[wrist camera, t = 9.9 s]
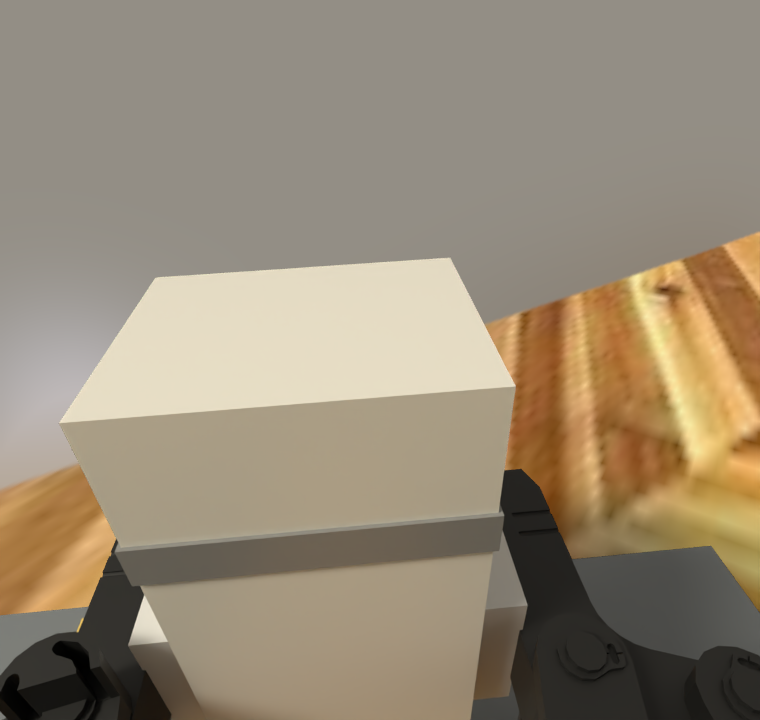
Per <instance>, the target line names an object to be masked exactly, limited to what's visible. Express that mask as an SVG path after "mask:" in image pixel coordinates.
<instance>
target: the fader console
mask: <svg viewBox="0 0 760 720" xmlns="http://www.w3.org/2000/svg"><path fill="white" fill-rule="evenodd" d="M572 561H573V563H574V565H575V568H576V570H577V572H578V574H579V576H580V579H581V581H582V583H583V585H584V588H585V590H586V592H587V594H588V597H589V599H590V601H591V603H592V605H593V607H594V608H595V610H596V612H597V613H598V615H599V616H600V617H601V618H602V619H603V621H604V622H605V623H606V624H607V625H608V626H609V627H610V628H611V629H613V630H614V631H615V632H616V633H618V634H619V635H620V636H622V637H623V638H625V639H627V640H629V641H631V642H633V643H634V644H637V645H640V646H643V647H646V648H649V649H653V650H657V651H661V652H666V653H670V654H674V655H679V656H683V657H687V658H692V659H696V660H699V658H700V657H701V655H702V654H703V652H704V651H707V650H709V649H711V648H714V647H716V646H731V647H739V648H741V649H744V650H746V651H749V652H752V653H754V654H757V655H759V656H760V613H759V611H758V610H757V609H756V607H755V606H754V605H753V603H752V602H751V600H750V599H749V598H748V596H747V595H746V594H745V592H744V591H743V589H742V588H741V587H740V585H739V584H738V583H737V581H736V580H735V578H734V577H733V576H732V574H731V573H730V571H729V570H728V569H727V567H726V566H725V565H724V563H723V562H722V560H721V559H720V558H719V556H718V555H717V554H716V552H715V551H714V549H713V548H712V547H711V546H704V547H694V548H684V549H673V550H663V551H653V552H643V553H633V554H622V555H612V556H602V557H592V558H582V559H572ZM87 610H88V607H82V608H72V609H62V610H52V611H41V612H31V613H21V614H11V615H1V616H0V675H1V674H2V673H3V671H4V670H5V669H6V668H7V667H8V666H9V664H10V663H11V662H12V661H13V660H14V659H15V658H16V657H17V656H18V655H20V654H21V653H22V652H24V651H25V650H26V649H28V648H29V647H30V646H32V645H33V644H34V643H36V642H38V641H40V640H43V639H45V638H47V637H50V636H52V635H54V634H57V633H66V632H79V629H80V627H81V624H82V622H83V619H84V617H85V614H86V612H87ZM518 715H519V708H518V704H517V701H516V697H515V693H514V690H513V686H512V682H511V687H510V692H509V696H506V697H497V698H488V699H478V700H473V704H472V712H471V719H470V720H517V719H518ZM5 718H6V717H5V716H4V715H3V714H2V713H1V712H0V720H3V719H5ZM170 720H172V719H170Z"/></svg>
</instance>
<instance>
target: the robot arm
mask: <svg viewBox="0 0 760 720" xmlns="http://www.w3.org/2000/svg"><path fill="white" fill-rule="evenodd" d="M500 505H501V508H502V511H503V514H504V522H503V529H502V535H501V542H500V549H499V551H494V552H493V557H492V564H491V572H490V579H489V586H488V594H487V601H486V608H485V616H484V623H483V631H482V638H481V645H480V653H479V660H478V667H477V675H476V682H475V690H474V697H473V700H478V699H488V698H497V697H506V696H509V692H510V687H511V682H512V686H513V690H514V693H515V697H516V701H517V704H518V708H519V715H518V719H517V720H760V656H759V655H757V654H754V653H752V652H749V651H746V650H744V649H741V648H739V647H731V646H716V647H714V648H711V649H709V650H707V651H704V652H703V654H702V655H701V657H700V658H699V660H696V659H692V658H687V657H683V656H679V655H674V654H670V653H666V652H661V651H657V650H653V649H649V648H646V647H643V646H640V645H637V644H634V643H633V642H631V641H629V640H627V639H625V638H623V637H622V636H620V635H619V634H618V633H616V632H615V631H614V630H613V629H611V628H610V627H609V626H608V625H607V624H606V623H605V622H604V621H603V619H602V618H601V617H600V616H599V615H598V613H597V612H596V610H595V608H594V607H593V605H592V603H591V601H590V599H589V597H588V594H587V592H586V590H585V588H584V585H583V583H582V581H581V579H580V576H579V574H578V572H577V570H576V568H575V565H574V563H573V561H572V559H571V556H570V554H569V552H568V550H567V547H566V545H565V543H564V541H563V538H562V536H561V534H560V533H559V532H558V527H557V525H556V523H555V520H554V518H553V516H552V514H550V509H549V507H548V505H547V503H546V500H545V498H544V496H543V494H542V491H541V489H540V487H539V486H538V485H537V484H536V483H535V482H534V481H533V480H532V479H531V478H530V477H529V476H528V475H527V474H526V473H525V472H524V471H523V470H522V469H516V470H505V471H504V476H503V483H502V490H501V498H500ZM117 545H118V541H117V539H116V541H115V543H114V546H113V548H112V551H111V553H112V554H111V556H109V558H108V561H107V563H106V565H105V568H104V570H103V577H102V578H100V580H99V583H98V585H97V587H96V590H95V592H94V595H93V597H92V600H91V602H90V605H89V607H88V610H87V612H86V614H85V617H84V619H83V622H82V624H81V627H80V629H79V632H66V633H57V634H54V635H52V636H50V637H47V638H45V639H43V640H40V641H38V642H36V643H34V644H33V645H32V646H30V647H29V648H28V649H26V650H25V651H24V652H22V653H21V654H20V655H18V656H17V657H16V658H15V659H14V660H13V661H12V662H11V663H10V664H9V666H8V667H7V668H6V669H5V670H4V671H3V673H2V674H1V675H0V712H1V713H2V714H3V715H4V716H5V717H6V718H5V719H3V720H170V719H172V720H207V719H206V717H205V715H204V713H203V711H202V709H201V707H200V705H199V703H198V701H197V699H196V697H195V695H194V693H193V691H192V689H191V687H190V685H189V683H188V681H187V679H186V677H185V675H184V673H183V671H182V669H181V667H180V665H179V663H178V661H177V659H176V657H175V655H174V653H173V651H172V649H171V647H170V645H169V643H168V641H167V639H166V637H165V635H164V633H163V631H162V629H161V627H160V625H159V623H158V621H157V619H156V617H155V615H154V613H153V611H152V609H151V607H150V605H149V603H148V601H147V599H146V597H145V595H144V593H143V591H142V589H141V587H140V586H132V585H131V584H130V582H129V580H128V578H127V576H126V574H125V572H124V570H123V568H122V566H121V564H120V562H119V560H118V558H117V556H116V554H115V550H116V547H117Z"/></svg>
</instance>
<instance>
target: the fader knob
mask: <svg viewBox="0 0 760 720" xmlns="http://www.w3.org/2000/svg"><path fill="white" fill-rule="evenodd" d="M515 387H516V386H515V384H514V382H513V380H512V378H511V376H510V374H509V372H508V370H507V369H506V367H505V365H504V363H503V361H502V359H501V357H500V355H499V353H498V351H497V349H496V347H495V345H494V343H493V341H492V339H491V337H490V335H489V333H488V331H487V329H486V327H485V325H484V323H483V321H482V319H481V318H480V316H479V314H478V312H477V310H476V308H475V306H474V304H473V302H472V300H471V298H470V296H469V294H468V292H467V290H466V288H465V286H464V284H463V282H462V280H461V278H460V276H459V274H458V272H457V271H456V269H455V266H454V265H453V263H452V261H451V259H450V258H439V259H425V260H410V261H396V262H381V263H368V264H353V265H352V264H351V265H337V266H322V267H307V268H292V269H278V270H262V271H247V272H232V273H219V274H204V275H188V276H174V277H159V278H155V279H154V281H153V282H152V284H151V285H150V287H149V288H148V290H147V291H146V293H145V294H144V296H143V298H142V299H141V300H140V302H139V304H138V305H137V306H136V308H135V309H134V311H133V312H132V314H131V315H130V317H129V319H128V320H127V321H126V323H125V324H124V326H123V327H122V329H121V331H120V332H119V334H118V335H117V337H116V338H115V340H114V341H113V343H112V344H111V346H110V347H109V349H108V350H107V352H106V353H105V355H104V356H103V358H102V359H101V361H100V362H99V364H98V365H97V367H96V368H95V370H94V371H93V373H92V374H91V376H90V377H89V379H88V380H87V382H86V383H85V385H84V386H83V388H82V390H81V391H80V392H79V394H78V395H77V397H76V398H75V400H74V401H73V403H72V404H71V406H70V407H69V409H68V410H67V412H66V414H65V415H64V417H63V418H62V419H61V421H60V423H59V424H60V426H61V428H62V430H63V432H64V434H65V436H66V438H67V440H68V442H69V444H70V446H71V448H72V450H73V452H74V454H75V456H76V458H77V460H78V462H79V464H80V466H81V468H82V470H83V472H84V474H85V476H86V478H87V480H88V482H89V484H90V486H91V488H92V490H93V492H94V494H95V497H96V499H97V501H98V503H99V505H100V507H101V509H102V511H103V513H104V515H105V517H106V519H107V521H108V523H109V525H110V527H111V529H112V531H113V533H114V535H115V537H116V539H117V541H118V545H117V547H116V550H115V554H116V556H117V558H118V560H119V562H120V564H121V566H122V568H123V570H124V572H125V574H126V576H127V578H128V580H129V582H130V584H131V585H132V586H140V587H141V589H142V591H143V593H144V595H145V597H146V599H147V601H148V603H149V605H150V607H151V609H152V611H153V613H154V615H155V617H156V619H157V621H158V623H159V625H160V627H161V629H162V631H163V633H164V635H165V637H166V639H167V641H168V643H169V645H170V647H171V649H172V651H173V653H174V655H175V657H176V659H177V661H178V663H179V665H180V667H181V669H182V671H183V673H184V675H185V677H186V679H187V681H188V683H189V685H190V687H191V689H192V691H193V693H194V695H195V697H196V699H197V701H198V703H199V705H200V707H201V709H202V711H203V713H204V715H205V717H206V719H207V720H470V719H471V712H472V704H473V697H474V690H475V682H476V675H477V667H478V660H479V653H480V645H481V638H482V631H483V623H484V616H485V608H486V601H487V594H488V586H489V579H490V572H491V564H492V557H493V552H494V551H499V549H500V542H501V535H502V529H503V522H504V514H503V511H502V508H501V505H500V498H501V490H502V483H503V476H504V468H505V461H506V454H507V446H508V439H509V431H510V424H511V417H512V409H513V402H514V395H515Z"/></svg>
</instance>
